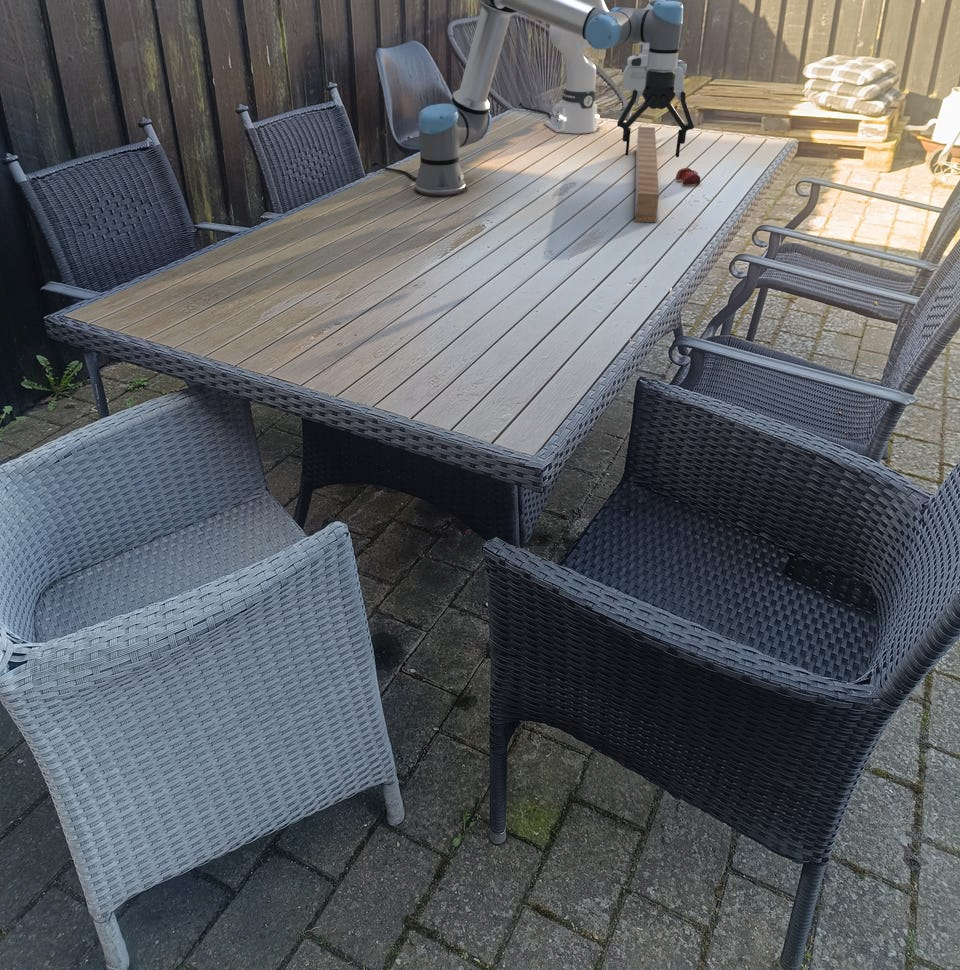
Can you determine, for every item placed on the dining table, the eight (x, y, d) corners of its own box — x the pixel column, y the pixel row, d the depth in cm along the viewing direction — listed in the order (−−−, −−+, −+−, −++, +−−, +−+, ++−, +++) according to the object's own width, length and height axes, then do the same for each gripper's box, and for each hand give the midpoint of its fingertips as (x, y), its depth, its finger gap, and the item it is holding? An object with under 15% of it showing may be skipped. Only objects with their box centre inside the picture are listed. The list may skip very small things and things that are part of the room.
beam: (655, 222, 234) (658, 194, 229) (635, 221, 234) (638, 193, 230) (652, 150, 296) (654, 127, 291) (636, 150, 297) (638, 126, 292)
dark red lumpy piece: (691, 164, 266) (703, 171, 259) (690, 177, 268) (701, 185, 262) (675, 166, 265) (686, 173, 258) (673, 179, 267) (684, 187, 261)
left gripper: (709, 68, 220) (697, 153, 232) (613, 66, 223) (606, 149, 235) (711, 73, 214) (699, 160, 226) (612, 71, 217) (605, 156, 229)
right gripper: (687, 58, 274) (681, 104, 282) (623, 57, 276) (619, 102, 284) (688, 61, 269) (682, 108, 277) (623, 60, 271) (619, 106, 279)
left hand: (651, 155), depth 231 cm, fingers open, 13 cm apart
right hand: (650, 105), depth 280 cm, fingers open, 8 cm apart
